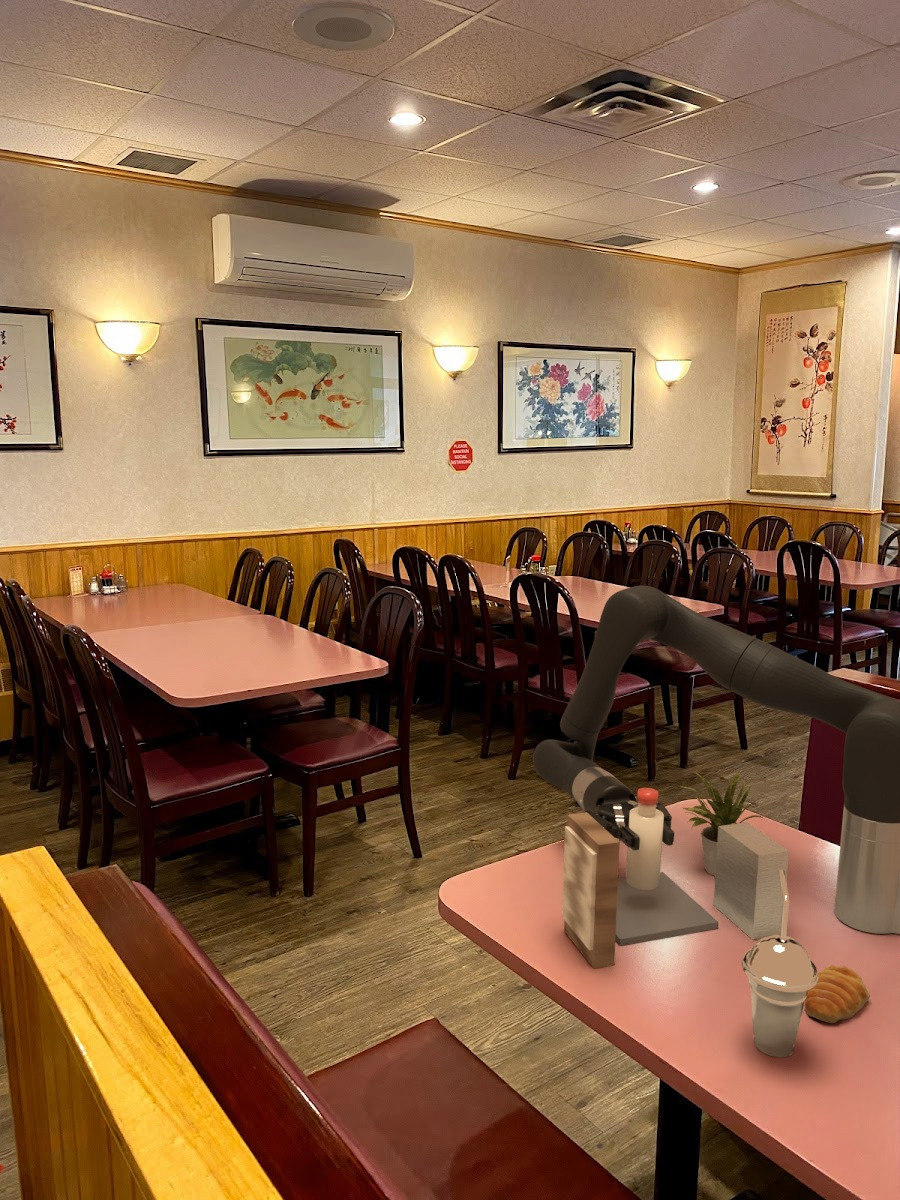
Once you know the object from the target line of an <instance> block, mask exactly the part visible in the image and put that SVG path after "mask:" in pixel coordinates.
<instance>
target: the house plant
mask: <svg viewBox="0 0 900 1200" xmlns="http://www.w3.org/2000/svg"><path fill="white" fill-rule="evenodd" d="M693 773H694V774H696V775H697V776H698V777H699V778H700V779H701V780H702V781H703V783H704V784H705V785H704V786H705V787H706V789H707V792H708V794H709V797H710V798H711V800H710V799H708V798H707V797H706V796H705V795H704V794H703V793H702V792H700V791H699V790H697V789H695V788H693V787H688V786H682V785H679V786H678V787H680V788H685V789H687V790H688V789H689V790H691V793H693V794H694V792H696V793H698V794H697V796H698V797H699V798H698V797H697V796H695V795H694V797H695V799H697V801H698V802H699V803H700V805H695V806H693V807H682V809H683V810H685V811H684V813H687V814H692V815H694V817H691V818H690V819H689V820H688V821H687V823H690V822H694V823H693V824H692V826H691V828H690V829H691V830H692V829H693V828H694V827H698V826H700V825H703V824H705V825H706V826H707V827H705V828H703V829H702V830H701V832H700V837H701V845H702V846H701V847H702V854H703V863H704V870H705V872H706V873H708V874H709V875H712V876H714V877H715V873H716V857H717V842H718V826H724V825H731V824H738V822H737V821H738V820H739V818H740V816H741V815H742V814H744V813H743V812H745V811H746V809H748V808H749V807H750V806H752V804H753V803H755V802H757V801H758V800H760V798H758V799H756V800H754V801H752V802H751V803H750V804H745V805H744V803H745V802H746V799H747V798H748V796H749V792H750V790H751V787H752V786H751V785H750V786H749V787H748V788H747V790H746V789H745V787H746V784H747V783H746V781H747V780H745V781H744V783H743V785H742V786H741V788H740V791H739V792H738V795H737V797H736V799H735V802H734V800H733V799H734V795H735V792H736V788H737V785H738V783H739V781H741V780H742V778H741V777H740V778H739V776H740V774H741V772H740V770H739V771H737V772H736V773H735V774H734V775H733V777H732V779H731V780H730V781H731V782H730V783H729V786H728V787H727V789H726V791H725V794H724V799H723V798H722V796H721V794H720V792H719V791H718V789H716V787H715V786H714V785H713V783H711V782H710V781H709V780H707V779H706V778H705V777H704V776H702V775H701V774H699V773H698V772H695V771H693ZM687 790H686V791H685V792H687V793H690V791H689V790H688V791H687ZM745 790H746V791H745ZM692 791H694V792H692ZM744 791H745V793H744ZM699 794H700V795H701V796H702V797H704V798H702V797H701V796H700V795H699ZM705 800H706V802H707V803H708V804H709V806H710V807H711V808H712V811H713V813H712V811H711V810H710V808H709V806H708V804H707V803H706V802H705ZM733 802H734V804H733ZM745 806H746V807H745ZM696 814H697V815H696ZM699 816H700V817H699ZM752 818H761V819H764V817H763V816H761V815H758V814H756V815H751V816H747V817H745V818H743V819H742V820H741V821H739V823H744V821H746V820H748V819H752ZM707 824H709V825H710V826H709V825H707Z"/></svg>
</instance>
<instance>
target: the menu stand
mask: <svg viewBox="0 0 900 1200" xmlns="http://www.w3.org/2000/svg"><path fill="white" fill-rule="evenodd" d="M584 812H585V811H584ZM584 812H579V813H570V814H568V815H567V821H566V822H567V823H566V824H567V825H566V826H564V848H563V851H564V852H563V875H562V876H563V878H562V879H563V882H562V909H561V910H562V913H561V914H562V915H561V917H562V919H563V921H564V922H563V924H564V925H563V931H564V932H565V933H566V935H567V936H568V937H569V938H570V940H571V941H572V942H573V943H574V945H575V946H576V947H577V949H578V950H579V951H580V953H581V954H582V955H583V956H584V957H585V959H586V960H587V961H588V962H589V964H590V965H591V966H592V968H593V969H599V968H604V967H611V966H615V959H616V958H615V957H616V956H615V955H616V941H615V936H616V912H617V888H618V879H619V859H620V841H618V840H617V839H616V838H614V837H613V836H612V835H611V834H610V833H609V832H608V831H607V830H606V829H605V828H604V827H602V826H601V825H600V824H599V823H598V822H597V821H596V820H595V819H594V818H593V817H592V816H590V815H589V814H588V813H587V812H585V813H584Z"/></svg>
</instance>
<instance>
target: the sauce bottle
mask: <svg viewBox="0 0 900 1200" xmlns="http://www.w3.org/2000/svg"><path fill="white" fill-rule="evenodd" d="M636 795H637V796H636V800H637V801H638V807H636V808H633V809H631V810H630V815H629V828H630V829H631V830H632V831H634V832H635V833H636V834H637V835H638V836H639V838H640V844H639V850H633V849H632V848H629V847H627V854H626V855H627V856H626V871H625V872H626V873H625V875H626V876H625V878H626V882H627V883H628V884H629V885H630V886H632V887H634V888H637V889H642V890H651V889H655V888H657V887H658V886H659V884H660V872H661V869H662V852H663V851H662V850H663V842H662V837H663V820H664V814H663V813H662V812H661V811H659V810H657V809H656V804H657V803H658V802H659V791H658V790H657V789H654V788H651V787H640V788H638V790H637V794H636Z"/></svg>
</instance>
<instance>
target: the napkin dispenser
mask: <svg viewBox="0 0 900 1200" xmlns="http://www.w3.org/2000/svg"><path fill="white" fill-rule="evenodd" d="M789 853H790V851H789V849H787V848H786V847H784V846H782V845H781V844H779V843H778V842H777V841H775V840H773V839H772V838H771V837H770V836H768V835H766V834H765V833H763V832H762V831H760V830H759V829H758V828H756V827H755V826H754V825H752V824H750V823H748V822H747V821H746V822H742V823H740V822H739V823H738V822H737V824H731V825H724V826H718V842H717V857H716V873H715V876H714V877H715V878H714V889H713V890H714V891H713V892H714V893H713V906H714V907H715V908H716V909H717V910H718V911H720V913H722V914H723V915H724V916H725V917H726V918H728V919H729V921H730V922H732V923H733V924H734V925H735V926H736V927H738V928H739V929H740V931H742V932H743V933H745V935H747V936H748V937H749V938H750V939H751V940H759V939H760V938H762V937H764V936H767V935H771V934H780V931H781V918H782V906H783V895H782V889H781V883H780V877H779V871H780V870H784V871H785V876H786V882H787V880H788V879H787V878H788V868H789Z"/></svg>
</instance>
